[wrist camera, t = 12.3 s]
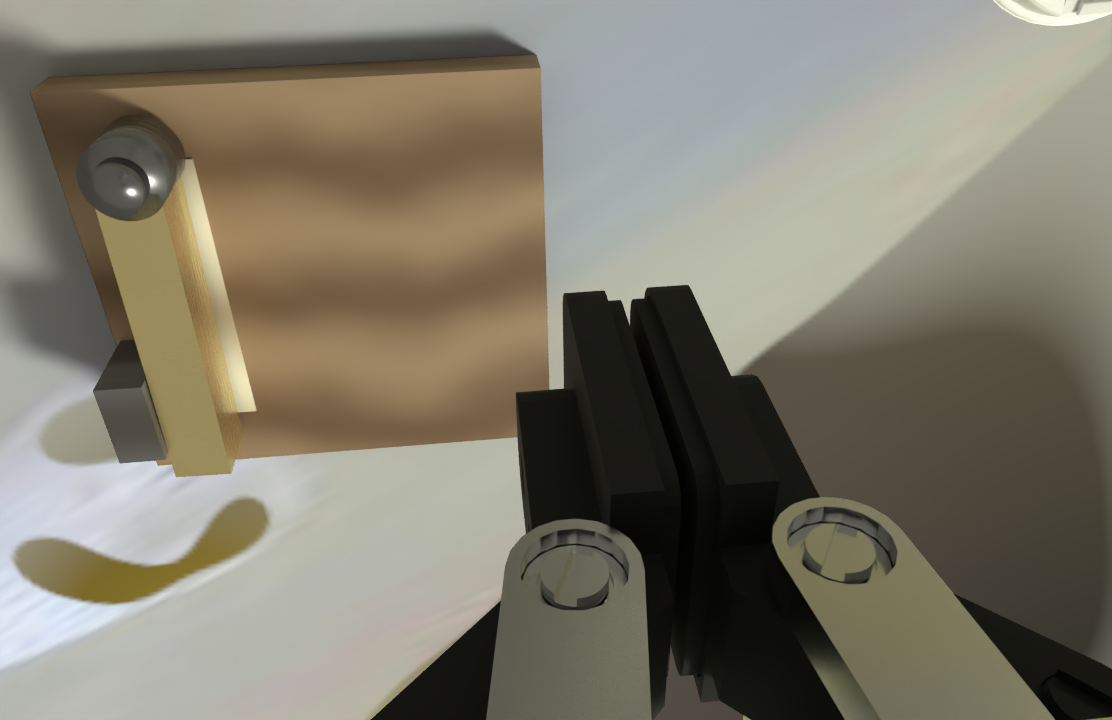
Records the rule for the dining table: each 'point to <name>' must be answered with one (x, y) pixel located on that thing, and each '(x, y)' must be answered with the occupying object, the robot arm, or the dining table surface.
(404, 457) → the dining table surface
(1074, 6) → the paper cup
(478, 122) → the lock board
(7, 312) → the dining table surface
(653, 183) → the dining table surface
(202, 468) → the bar
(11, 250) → the dining table surface
